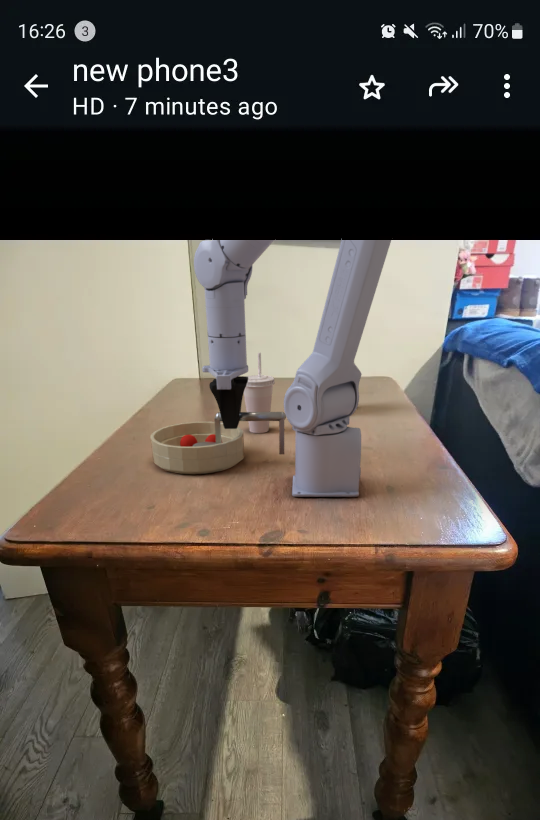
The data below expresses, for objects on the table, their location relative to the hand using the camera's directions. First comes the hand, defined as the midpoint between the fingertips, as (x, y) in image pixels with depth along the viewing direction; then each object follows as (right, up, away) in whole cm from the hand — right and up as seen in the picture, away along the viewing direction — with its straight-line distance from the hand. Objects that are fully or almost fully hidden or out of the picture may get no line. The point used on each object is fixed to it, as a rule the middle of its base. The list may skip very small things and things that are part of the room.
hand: (231, 426), depth 94 cm
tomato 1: (-8, -1, +5) cm, 9 cm away
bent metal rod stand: (+1, -4, +2) cm, 5 cm away
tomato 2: (-3, -1, +5) cm, 6 cm away
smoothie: (+4, +5, +19) cm, 20 cm away
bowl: (-6, -4, +4) cm, 8 cm away
